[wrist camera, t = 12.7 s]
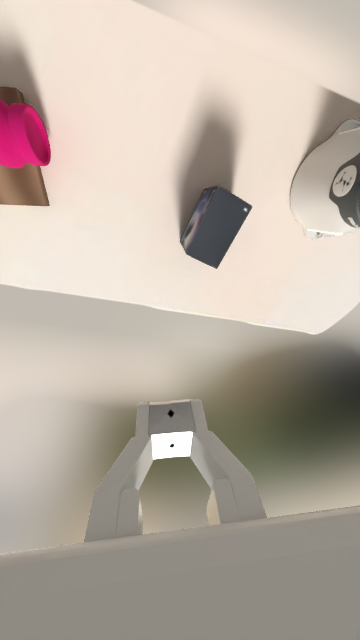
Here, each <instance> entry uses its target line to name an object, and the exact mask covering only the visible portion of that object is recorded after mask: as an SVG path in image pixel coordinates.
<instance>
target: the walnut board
mask: <svg viewBox="0 0 360 640" xmlns="http://www.w3.org/2000/svg"><path fill="white" fill-rule="evenodd" d="M0 99H1V100H2V101H3V102H5V103H6V104H7V105H8V106H10V105H11V104H12V103H20V104H25V103H24V99H23V95H22V93H21V92H20V91H19V90H17V89H16V88H8V87H0ZM0 204H5V205H30V206H50V205H49V201H48V197H47V193H46V189H45V185H44V181H43V177H42V173H41V169H40V166H34V165H31V164H30V163H27V164H26V165H25V166H24V167H22V168H18V169H17V168H10V167H5V166H3V165H0Z"/></svg>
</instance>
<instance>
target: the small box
mask: <svg viewBox="0 0 360 640" xmlns="http://www.w3.org/2000/svg"><path fill="white" fill-rule="evenodd" d="M251 209H252V205H250V204H248V203H247V202H245V201H243V200H242V199H240V198H239V197H237V196H235V195H234V194H232V193H231V192H229V191H227V190H226V189H224V188H223V187H221V186H215V187H211V188H205V189H204V191H203V193H202V195H201V197H200V199H199V202H198V204H197V206H196V208H195V210H194V212H193V214H192V217H191V219H190V221H189V223H188V225H187V227H186V230H185V232H184V234H183V236H182V238H181V240H180V243H181V244H182V246H183V248H184V250H185V253H186V254H187V255H189V256H191V257H193V258H195V259H197V260H199V261H201V262H203V263H205V264H207V265H209V266H211V267H214V268H216V269H217V268H218V266H219V264H220V263H221V261H222V259H223V257H224V256H225V254H226V252H227V250H228V249H229V247H230V245H231V244H232V242H233V240H234V238H235V236H236V235H237V233H238V231H239V230H240V228H241V226H242V224H243V223H244V221H245V219H246V217H247V216H248V214H249V212H250V210H251Z"/></svg>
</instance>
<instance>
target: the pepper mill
mask: <svg viewBox="0 0 360 640" xmlns="http://www.w3.org/2000/svg"><path fill="white" fill-rule="evenodd" d="M50 158H51V151H50V144H49V140H48V136H47V133H46V130H45V127H44V125H43V123H42V121H41V119H40V117H39V115H38V114H37V112H36V111H35V110H34V109H33V107H31V106H30V105H28V104H20V103H12V104H11V105H10V106H8V105H7V104H6V103H5V102H3V101H2V100H1V99H0V165H3V166H5V167H10V168H17V169H18V168H22V167H24V166H25V165H26V164H27V163H30V164H31V165H34V166H47V165H48V164H49V163H50Z"/></svg>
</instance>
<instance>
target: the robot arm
mask: <svg viewBox="0 0 360 640" xmlns="http://www.w3.org/2000/svg"><path fill="white" fill-rule="evenodd" d="M290 205H291V210H292V213H293V216H294V217H295V219H296V220H297V221H298V223H299V224H300V225H301V226H302V228H303V231H304V235H305V238H306V239H307V240H316V239H321V238H327V237H332V236H337V235H343V234H348V233H354V232H359V231H360V121H357V120H355V119H350V120H347V121H345V122H343V123H342V124H341V125H340V127H339V128H338V129H337V130H336V131H335V133H334V134H333V135H332V136H331V137H330V138H329V139H328V140H327V141H325V142H324V143H322V144H321V145H319V146H318V147H317V148H315V149H314V150H313V151H312V152H311V153H310V154H309V155H308V156H307V157H306V159H305V160H304V161H303V163H302V164H301V166H300V167H299V169H298V171H297V173H296V175H295V178H294V181H293V184H292V188H291V193H290ZM317 232H318V234H317ZM173 456H174V457H175V456H190V457H191V459H192V461H193V462H194V464H195V465H196V467H197V468H198V469H199V471H200V472H201V474H202V476H203V477H204V479H205V480H206V482H207V483H208V484H209V486H210V488H211V489H212V490H211V493H210V497H209V501H208V505H207V508H206V512H207V518H208V524H209V526H203V527H196V528H188V529H181V530H174V531H166V532H159V533H151V534H144V535H142V533H143V515H142V507H141V500H140V492H139V491H138V490H139V488H140V486H141V484H142V482H143V480H144V478H145V476H146V474H147V472H148V470H149V468H150V466H151V464H152V462H153V459H157V458H165V457H173ZM0 640H360V506H352V507H345V508H337V509H331V510H322V511H316V512H308V513H300V514H293V515H285V516H278V517H270V518H267V516H266V513H265V511H264V508H263V505H262V502H261V499H260V496H259V493H258V491H257V488H256V485H255V482H254V479H253V476H252V474H251V473H250V472H249V471H248V470H247V469H246V468H245V467H244V466H243V465H242V464H241V462H240V461H239V460H238V459H237V458H236V457H235V456H234V455H233V454H232V453H231V452H230V451H229V450H228V449H227V448H226V446H225V445H224V444H223V443H222V442H221V441H220V440H219V439H218V438H217V437H216V435H215V434H214V433H213V432H212V431H208V428H207V424H206V420H205V416H204V411H203V407H202V402H201V400H200V399H193V400H189V399H188V400H176V401H168V402H144V403H139V404H138V410H137V423H136V434H135V437H132V438H131V440H130V441H129V442H128V444H127V445H126V447H125V448H124V450H123V451H122V453H121V454H120V455H119V457H118V458H117V460H116V461H115V463H114V464H113V466H112V467H111V468H110V470H109V471H108V473H107V474H106V476H105V477H104V479H103V480H102V481H101V483H100V484H99V486H98V487H97V489H96V490H95V492H94V496H93V501H92V506H91V511H90V516H89V520H88V525H87V530H86V535H85V539H84V542H83V543H77V544H69V545H61V546H54V547H46V548H39V549H31V550H24V551H16V552H9V553H2V554H0Z"/></svg>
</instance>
